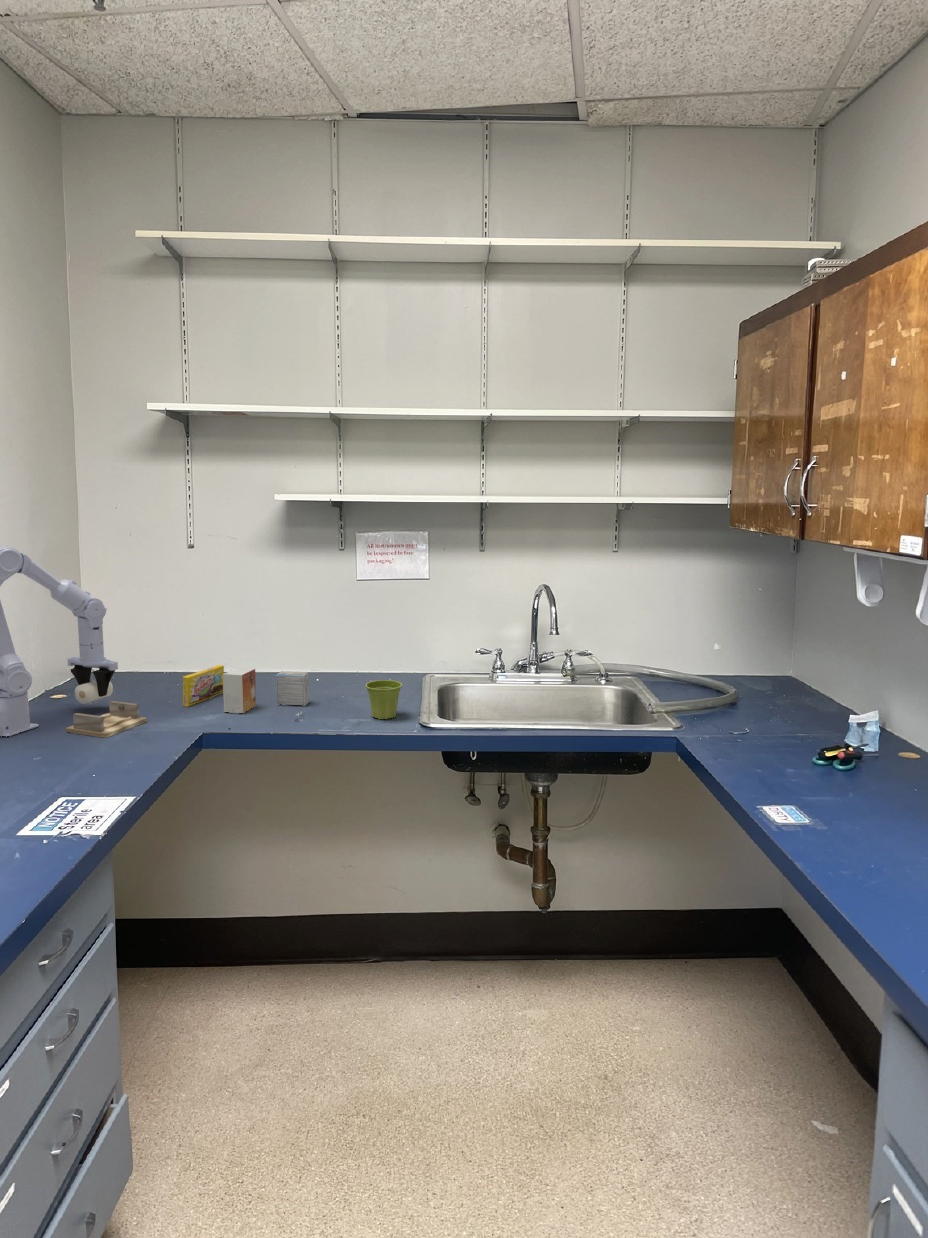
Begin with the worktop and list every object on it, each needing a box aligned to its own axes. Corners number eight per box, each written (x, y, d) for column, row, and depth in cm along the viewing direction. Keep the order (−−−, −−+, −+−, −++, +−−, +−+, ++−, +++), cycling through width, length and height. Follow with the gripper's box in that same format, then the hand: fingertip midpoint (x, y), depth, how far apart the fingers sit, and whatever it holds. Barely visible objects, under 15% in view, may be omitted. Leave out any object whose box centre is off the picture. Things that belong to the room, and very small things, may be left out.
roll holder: (106, 737, 191) (105, 719, 190) (65, 732, 195) (64, 714, 194) (147, 721, 204) (146, 704, 203) (108, 716, 208) (107, 699, 207)
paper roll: (90, 705, 208) (89, 686, 207) (75, 703, 209) (73, 684, 209) (113, 697, 215) (112, 679, 215) (98, 695, 217) (97, 677, 216)
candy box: (189, 707, 218) (187, 677, 216) (182, 706, 218) (180, 676, 217) (225, 693, 233) (224, 664, 231) (218, 692, 233) (217, 664, 232)
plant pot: (396, 723, 206) (396, 690, 204) (360, 720, 208) (360, 687, 206) (406, 713, 215) (406, 681, 214) (372, 710, 217) (372, 679, 215)
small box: (243, 714, 212) (242, 675, 210) (223, 713, 213) (222, 673, 211) (256, 706, 219) (255, 668, 218) (237, 705, 220) (236, 667, 219)
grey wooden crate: (309, 702, 224) (309, 671, 223) (304, 706, 220) (304, 675, 218) (281, 701, 225) (280, 670, 223) (276, 705, 220) (275, 674, 219)
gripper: (125, 642, 211) (127, 693, 214) (80, 638, 216) (83, 688, 218) (105, 647, 205) (108, 700, 207) (59, 643, 209) (63, 694, 212)
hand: (94, 694), depth 212 cm, fingers closed on paper roll, 5 cm apart
